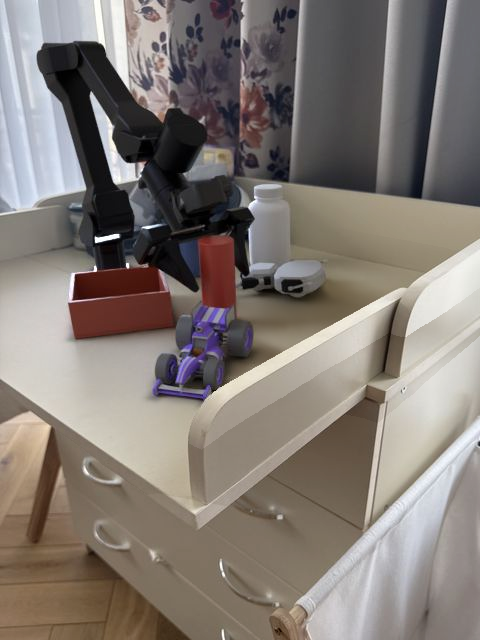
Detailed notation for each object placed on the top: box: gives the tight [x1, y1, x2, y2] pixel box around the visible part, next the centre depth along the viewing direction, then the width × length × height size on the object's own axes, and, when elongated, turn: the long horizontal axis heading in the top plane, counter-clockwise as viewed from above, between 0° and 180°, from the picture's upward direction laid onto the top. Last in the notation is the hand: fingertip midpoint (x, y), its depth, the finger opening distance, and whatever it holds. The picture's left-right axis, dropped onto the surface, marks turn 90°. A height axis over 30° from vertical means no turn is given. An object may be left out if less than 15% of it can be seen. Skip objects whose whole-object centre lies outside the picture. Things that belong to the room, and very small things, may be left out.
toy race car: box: [152, 300, 254, 402], centre depth 68 cm, size 10×15×6 cm, turn 165°
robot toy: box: [235, 259, 329, 299], centre depth 93 cm, size 12×4×15 cm
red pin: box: [198, 235, 238, 320], centre depth 79 cm, size 5×5×13 cm
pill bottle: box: [247, 183, 291, 267], centre depth 103 cm, size 8×8×15 cm
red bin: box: [67, 265, 174, 340], centre depth 84 cm, size 13×14×6 cm
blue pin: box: [179, 239, 200, 278], centre depth 100 cm, size 5×5×13 cm
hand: (223, 282), depth 78 cm, fingers open, 9 cm apart
